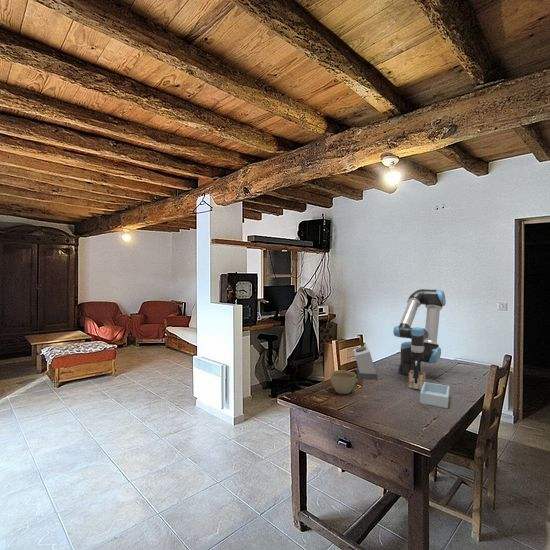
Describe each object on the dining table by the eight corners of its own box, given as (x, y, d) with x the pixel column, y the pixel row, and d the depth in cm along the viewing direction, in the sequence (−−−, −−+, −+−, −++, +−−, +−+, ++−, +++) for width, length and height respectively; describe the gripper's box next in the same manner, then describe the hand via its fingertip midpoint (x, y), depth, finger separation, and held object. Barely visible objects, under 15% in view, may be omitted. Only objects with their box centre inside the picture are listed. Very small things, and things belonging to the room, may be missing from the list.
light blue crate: (419, 403, 190) (420, 392, 190) (424, 391, 209) (424, 381, 209) (447, 408, 183) (447, 397, 183) (449, 395, 202) (449, 385, 202)
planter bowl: (337, 385, 219) (337, 368, 219) (360, 390, 209) (360, 373, 209) (324, 391, 207) (325, 374, 207) (348, 398, 197) (348, 379, 196)
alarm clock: (378, 379, 231) (378, 350, 231) (354, 378, 234) (355, 349, 234) (374, 371, 252) (374, 344, 251) (353, 370, 254) (353, 343, 254)
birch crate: (408, 387, 216) (408, 373, 216) (410, 383, 223) (410, 370, 223) (423, 390, 211) (423, 375, 211) (425, 385, 219) (425, 372, 219)
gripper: (421, 355, 206) (421, 392, 206) (425, 348, 225) (424, 381, 225) (408, 354, 209) (408, 389, 210) (413, 347, 228) (413, 380, 229)
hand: (416, 385), depth 217 cm, fingers closed on birch crate, 9 cm apart
